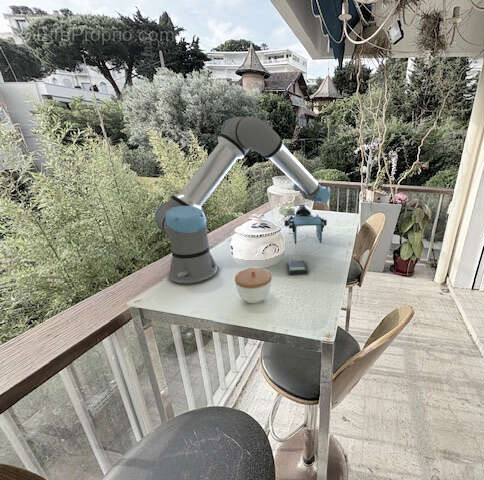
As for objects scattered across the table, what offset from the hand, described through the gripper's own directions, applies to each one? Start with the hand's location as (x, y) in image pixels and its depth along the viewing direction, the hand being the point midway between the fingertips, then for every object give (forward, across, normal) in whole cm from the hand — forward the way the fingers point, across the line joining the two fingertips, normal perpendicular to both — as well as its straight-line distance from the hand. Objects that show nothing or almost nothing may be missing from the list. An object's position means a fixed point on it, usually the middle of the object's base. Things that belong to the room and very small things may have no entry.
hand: (308, 228), depth 108 cm
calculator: (+11, +5, -12) cm, 17 cm away
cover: (-4, 0, -6) cm, 7 cm away
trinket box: (+29, +20, -12) cm, 38 cm away
